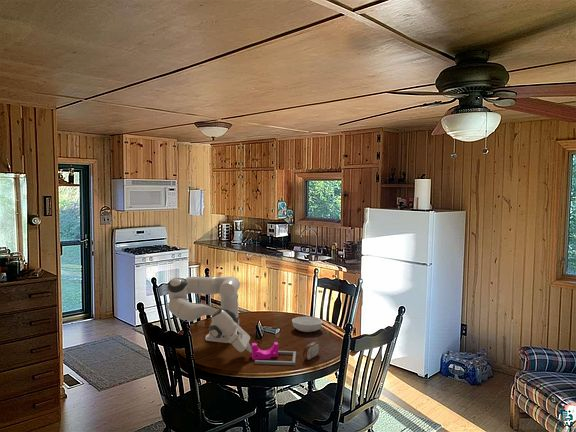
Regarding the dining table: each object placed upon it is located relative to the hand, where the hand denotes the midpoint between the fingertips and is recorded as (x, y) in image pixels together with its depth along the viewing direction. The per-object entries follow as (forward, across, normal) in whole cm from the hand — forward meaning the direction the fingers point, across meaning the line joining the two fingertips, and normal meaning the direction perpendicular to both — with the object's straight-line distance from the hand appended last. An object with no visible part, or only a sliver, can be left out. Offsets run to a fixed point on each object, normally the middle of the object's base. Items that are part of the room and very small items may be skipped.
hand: (251, 351), depth 247 cm
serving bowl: (+24, -55, +19) cm, 63 cm away
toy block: (+8, -4, +2) cm, 9 cm away
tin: (+27, -5, +21) cm, 35 cm away
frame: (+12, -1, +7) cm, 14 cm away
